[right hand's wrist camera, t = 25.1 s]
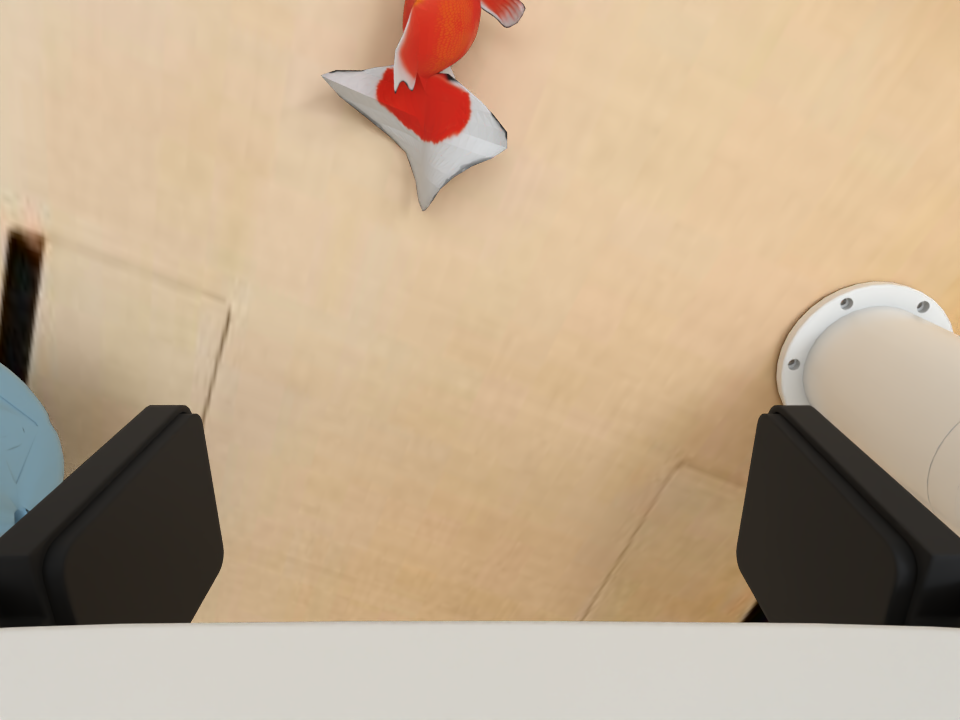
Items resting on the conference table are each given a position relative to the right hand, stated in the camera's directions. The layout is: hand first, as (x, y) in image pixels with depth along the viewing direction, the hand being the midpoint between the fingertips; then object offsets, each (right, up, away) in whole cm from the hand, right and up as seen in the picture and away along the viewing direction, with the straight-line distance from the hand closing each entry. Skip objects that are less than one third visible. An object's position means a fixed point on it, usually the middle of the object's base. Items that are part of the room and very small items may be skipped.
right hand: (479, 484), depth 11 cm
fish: (-3, +20, +32) cm, 37 cm away
